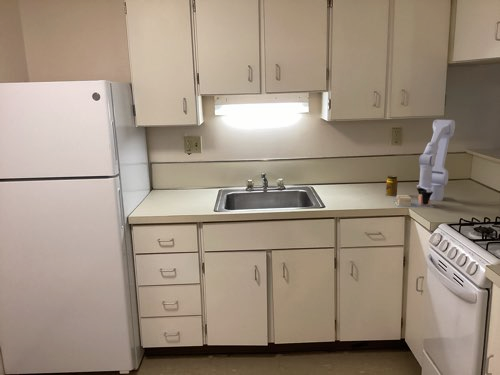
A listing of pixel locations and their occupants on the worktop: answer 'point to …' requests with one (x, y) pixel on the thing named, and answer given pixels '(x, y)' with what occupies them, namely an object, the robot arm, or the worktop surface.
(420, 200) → the terracotta block
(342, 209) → the worktop surface
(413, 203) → the board
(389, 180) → the condiment
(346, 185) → the worktop surface
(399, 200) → the block
